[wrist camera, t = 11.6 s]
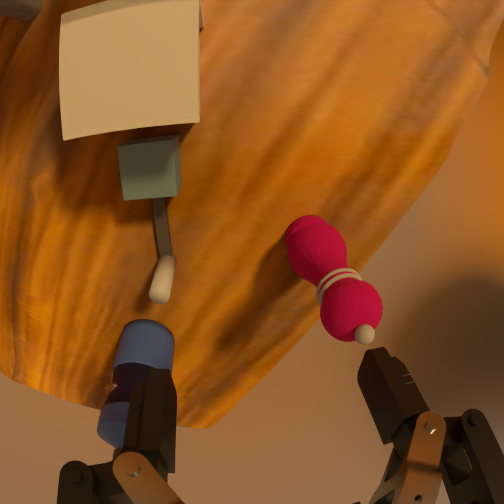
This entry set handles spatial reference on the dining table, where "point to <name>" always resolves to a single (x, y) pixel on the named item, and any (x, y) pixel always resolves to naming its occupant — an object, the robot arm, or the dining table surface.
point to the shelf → (129, 65)
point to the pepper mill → (333, 280)
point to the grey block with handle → (154, 195)
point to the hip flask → (20, 9)
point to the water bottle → (133, 374)
